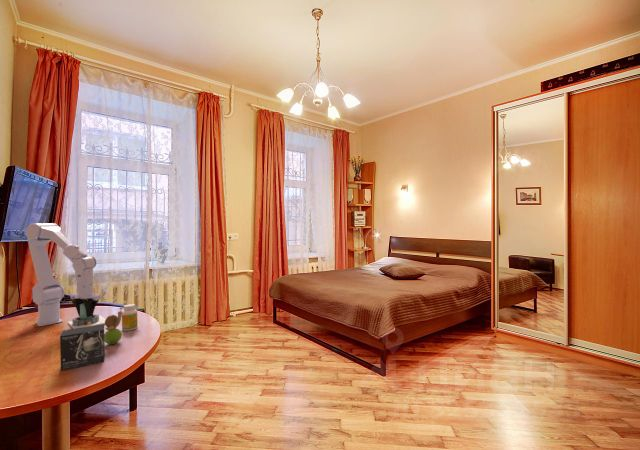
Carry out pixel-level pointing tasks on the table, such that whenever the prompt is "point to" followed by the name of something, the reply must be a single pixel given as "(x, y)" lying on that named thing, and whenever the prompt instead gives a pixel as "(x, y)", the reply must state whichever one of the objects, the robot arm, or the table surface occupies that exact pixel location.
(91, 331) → the box
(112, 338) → the snail figurine
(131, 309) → the supplement bottle
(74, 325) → the collar plate
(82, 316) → the teal peg
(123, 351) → the table surface
